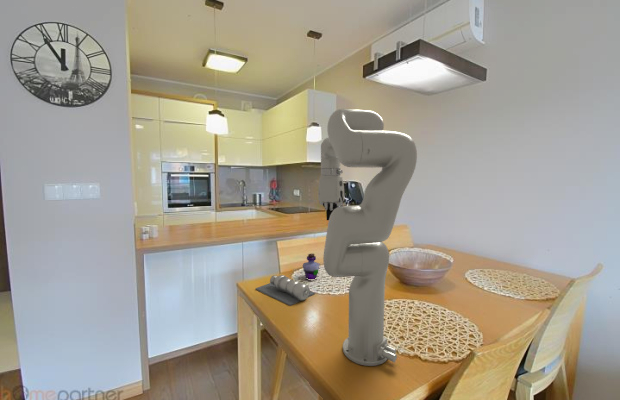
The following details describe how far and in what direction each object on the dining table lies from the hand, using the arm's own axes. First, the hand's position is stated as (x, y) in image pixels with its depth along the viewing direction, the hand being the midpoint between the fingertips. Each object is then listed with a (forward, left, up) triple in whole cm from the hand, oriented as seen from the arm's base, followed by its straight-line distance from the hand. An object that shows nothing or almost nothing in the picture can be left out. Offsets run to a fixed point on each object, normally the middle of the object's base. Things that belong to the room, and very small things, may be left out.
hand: (330, 220), depth 106 cm
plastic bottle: (+4, +9, -28) cm, 30 cm away
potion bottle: (+20, -10, -32) cm, 39 cm away
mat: (+18, +9, -32) cm, 37 cm away
